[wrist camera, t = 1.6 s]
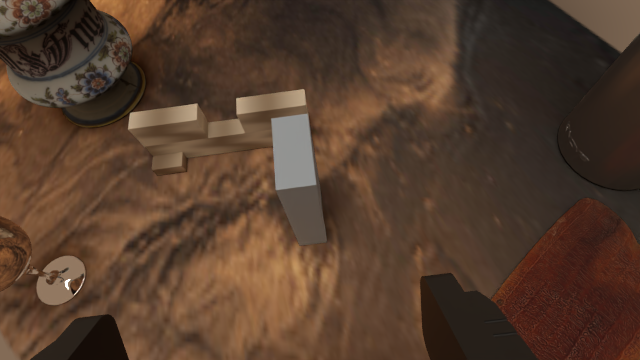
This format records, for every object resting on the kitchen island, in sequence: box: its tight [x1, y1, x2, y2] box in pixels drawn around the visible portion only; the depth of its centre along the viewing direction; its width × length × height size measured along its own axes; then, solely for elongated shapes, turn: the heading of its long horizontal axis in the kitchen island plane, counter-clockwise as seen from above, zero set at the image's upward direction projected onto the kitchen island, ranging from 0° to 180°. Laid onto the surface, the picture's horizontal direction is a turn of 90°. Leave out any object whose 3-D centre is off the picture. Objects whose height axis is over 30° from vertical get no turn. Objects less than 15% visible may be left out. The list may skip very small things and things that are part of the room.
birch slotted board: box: [128, 89, 311, 176], centre depth 37 cm, size 16×5×6 cm, turn 97°
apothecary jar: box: [0, 0, 146, 128], centre depth 36 cm, size 12×12×18 cm
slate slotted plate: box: [271, 114, 327, 246], centre depth 30 cm, size 2×5×12 cm, turn 7°
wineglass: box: [0, 216, 86, 306], centre depth 29 cm, size 6×6×12 cm
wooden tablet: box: [491, 198, 640, 360], centre depth 29 cm, size 27×10×2 cm, turn 133°
